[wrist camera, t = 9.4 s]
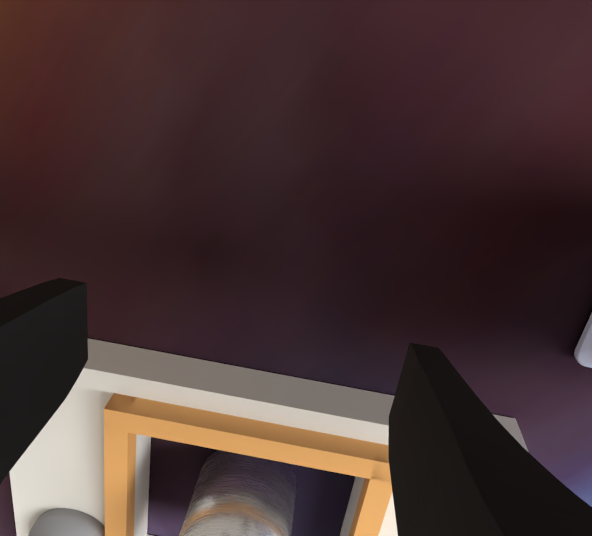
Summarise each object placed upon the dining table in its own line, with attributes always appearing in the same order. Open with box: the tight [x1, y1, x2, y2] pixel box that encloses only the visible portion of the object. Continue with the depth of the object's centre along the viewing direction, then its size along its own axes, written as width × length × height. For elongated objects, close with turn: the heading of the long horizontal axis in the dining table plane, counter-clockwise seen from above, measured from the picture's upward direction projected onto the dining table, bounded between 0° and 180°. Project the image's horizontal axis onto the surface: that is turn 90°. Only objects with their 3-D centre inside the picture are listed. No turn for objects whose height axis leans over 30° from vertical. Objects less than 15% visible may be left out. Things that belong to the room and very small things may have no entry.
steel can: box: [179, 450, 297, 536], centre depth 24 cm, size 5×5×6 cm
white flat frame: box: [9, 338, 528, 536], centre depth 25 cm, size 22×15×3 cm
